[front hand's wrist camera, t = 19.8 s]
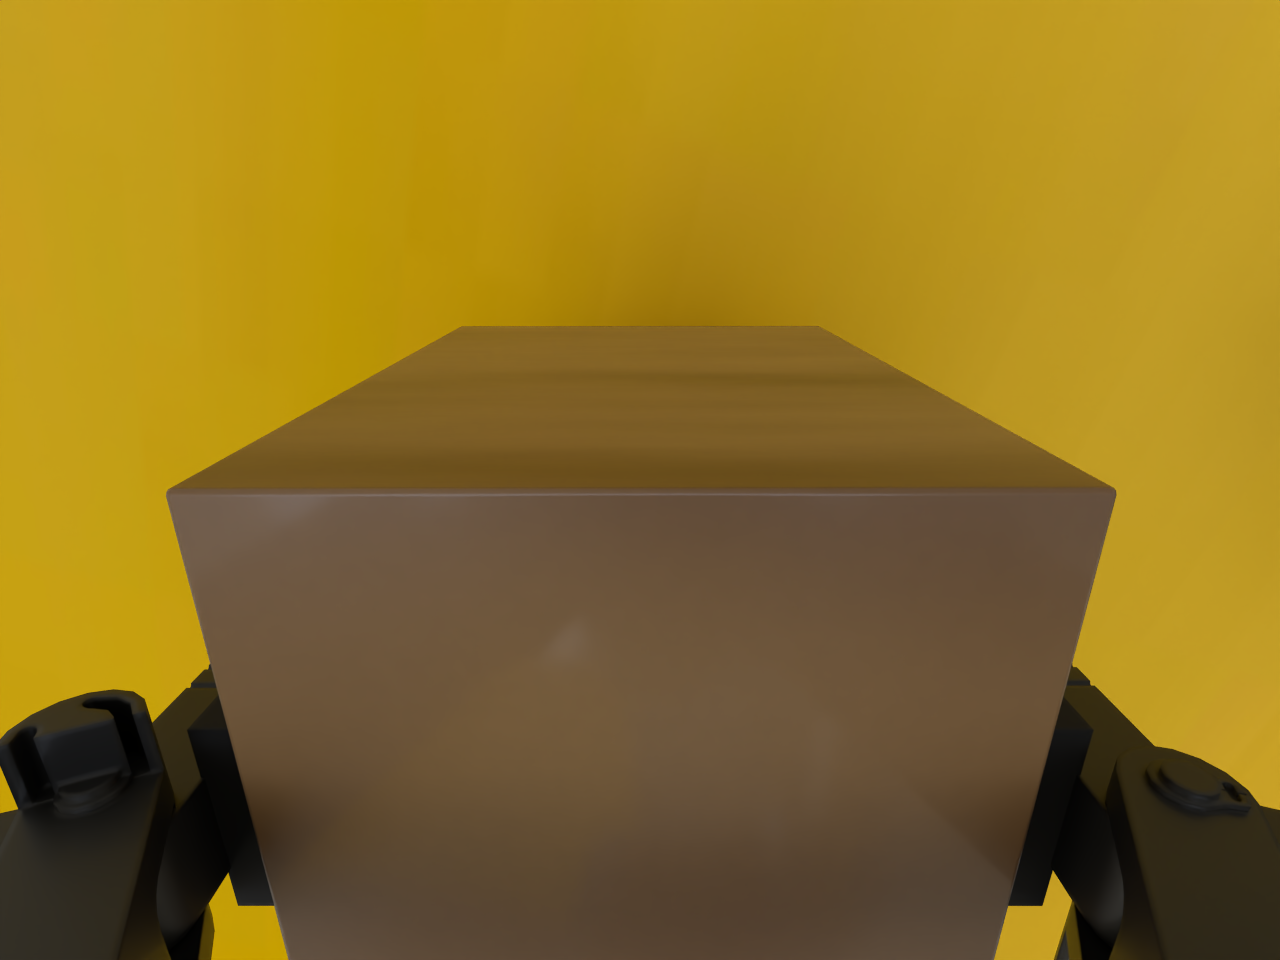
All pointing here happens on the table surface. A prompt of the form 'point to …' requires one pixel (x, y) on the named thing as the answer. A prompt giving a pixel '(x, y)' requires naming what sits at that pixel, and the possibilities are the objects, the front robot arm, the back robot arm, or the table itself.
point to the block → (641, 650)
